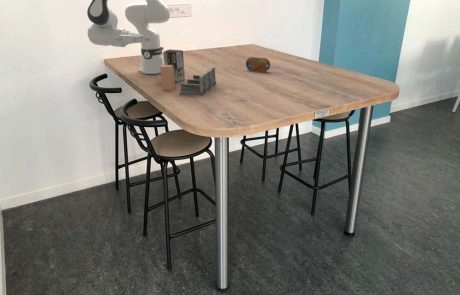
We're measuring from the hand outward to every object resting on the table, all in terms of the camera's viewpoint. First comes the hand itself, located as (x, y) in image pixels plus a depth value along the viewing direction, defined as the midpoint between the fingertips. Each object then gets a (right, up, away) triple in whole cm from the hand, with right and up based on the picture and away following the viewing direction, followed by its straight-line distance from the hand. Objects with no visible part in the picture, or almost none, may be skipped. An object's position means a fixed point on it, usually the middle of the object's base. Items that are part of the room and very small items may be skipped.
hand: (147, 40), depth 185 cm
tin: (+58, -8, +39) cm, 71 cm away
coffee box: (+10, -16, +24) cm, 30 cm away
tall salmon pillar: (+9, -23, +7) cm, 26 cm away
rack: (+25, -23, +7) cm, 35 cm away
